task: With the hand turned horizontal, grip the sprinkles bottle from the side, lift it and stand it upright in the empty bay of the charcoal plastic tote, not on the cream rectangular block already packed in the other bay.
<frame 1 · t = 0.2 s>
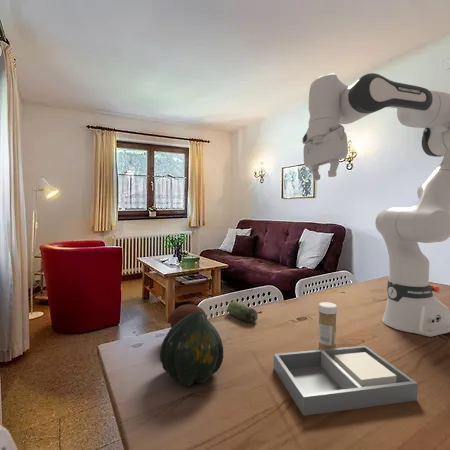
hand: (324, 178, 89), 48 cm above the table, tool pointing down, fingers open, 8 cm apart
sprinkles bottle: (326, 354, 79), on the table
cream rectangular block: (362, 380, 65), point 1 cm above the table, touching tote
vegetable: (242, 319, 104), on the table
squash: (192, 374, 69), on the table
muffin: (187, 340, 87), on the table
tote: (338, 387, 64), on the table
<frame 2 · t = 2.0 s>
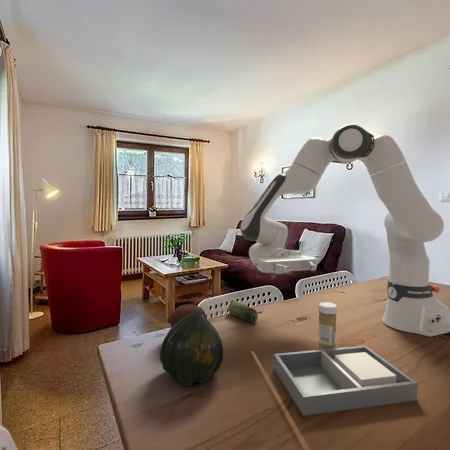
hand: (301, 268, 89), 20 cm above the table, tool horizontal, fingers open, 8 cm apart
nothing on the table moved.
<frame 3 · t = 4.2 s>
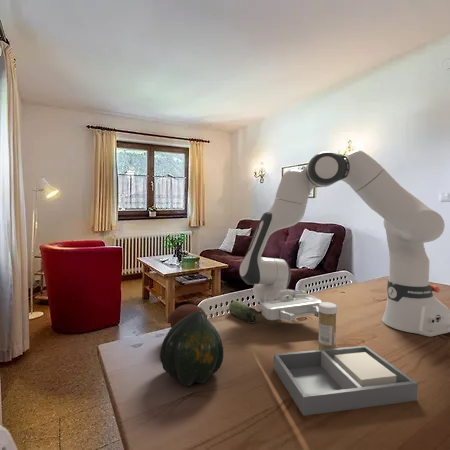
hand: (306, 316, 87), 7 cm above the table, tool horizontal, fingers open, 8 cm apart
nothing on the table moved.
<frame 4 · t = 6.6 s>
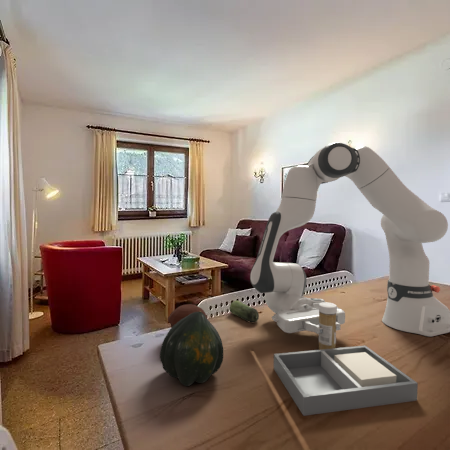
hand: (329, 329, 78), 7 cm above the table, tool horizontal, fingers closed on sprinkles bottle, 4 cm apart
sprinkles bottle: (326, 354, 79), on the table, touching gripper
everything else where it was.
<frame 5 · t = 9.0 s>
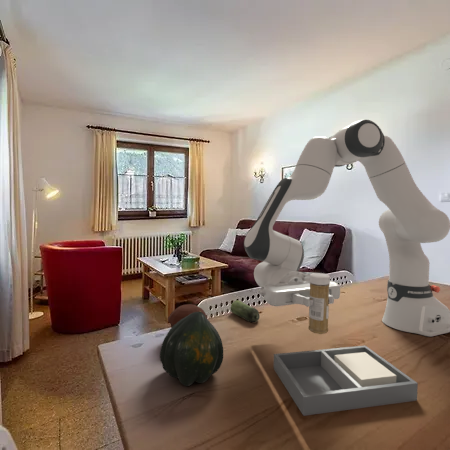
hand: (321, 301, 68), 17 cm above the table, tool horizontal, fingers closed on sprinkles bottle, 4 cm apart
sprinkles bottle: (318, 331, 70), point 10 cm above the table, touching gripper
when the fingers open (9 cm above the table, at t = 11.4 s): sprinkles bottle stays where it is, resting on tote.
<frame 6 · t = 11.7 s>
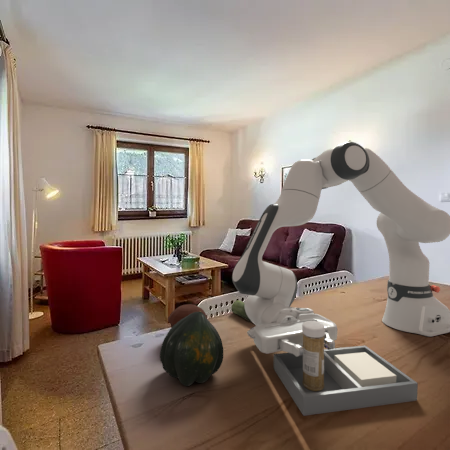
hand: (316, 349, 62), 9 cm above the table, tool horizontal, fingers open, 7 cm apart
sprinkles bottle: (313, 386, 63), point 1 cm above the table, touching tote
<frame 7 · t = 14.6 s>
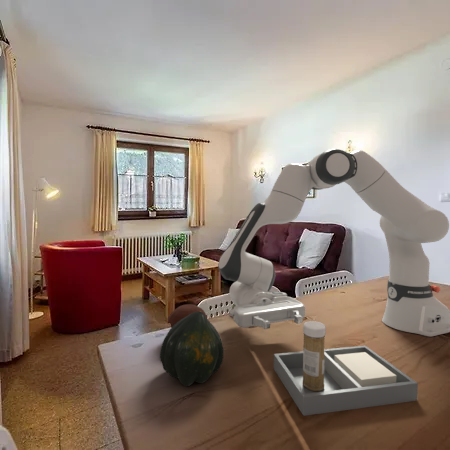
hand: (284, 323, 74), 10 cm above the table, tool horizontal, fingers open, 8 cm apart
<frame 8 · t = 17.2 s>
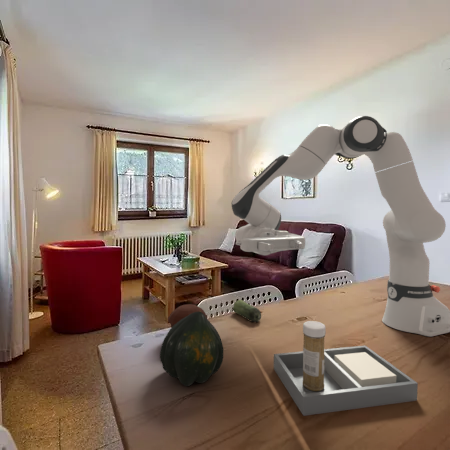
hand: (286, 246, 82), 28 cm above the table, tool horizontal, fingers open, 8 cm apart
at the end: sprinkles bottle inside the target area on the tote (0.5 cm from its centre), point 0.8 cm above the tote's base; sprinkles bottle tilted 0°; cream rectangular block moved 0.1 cm from its start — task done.
